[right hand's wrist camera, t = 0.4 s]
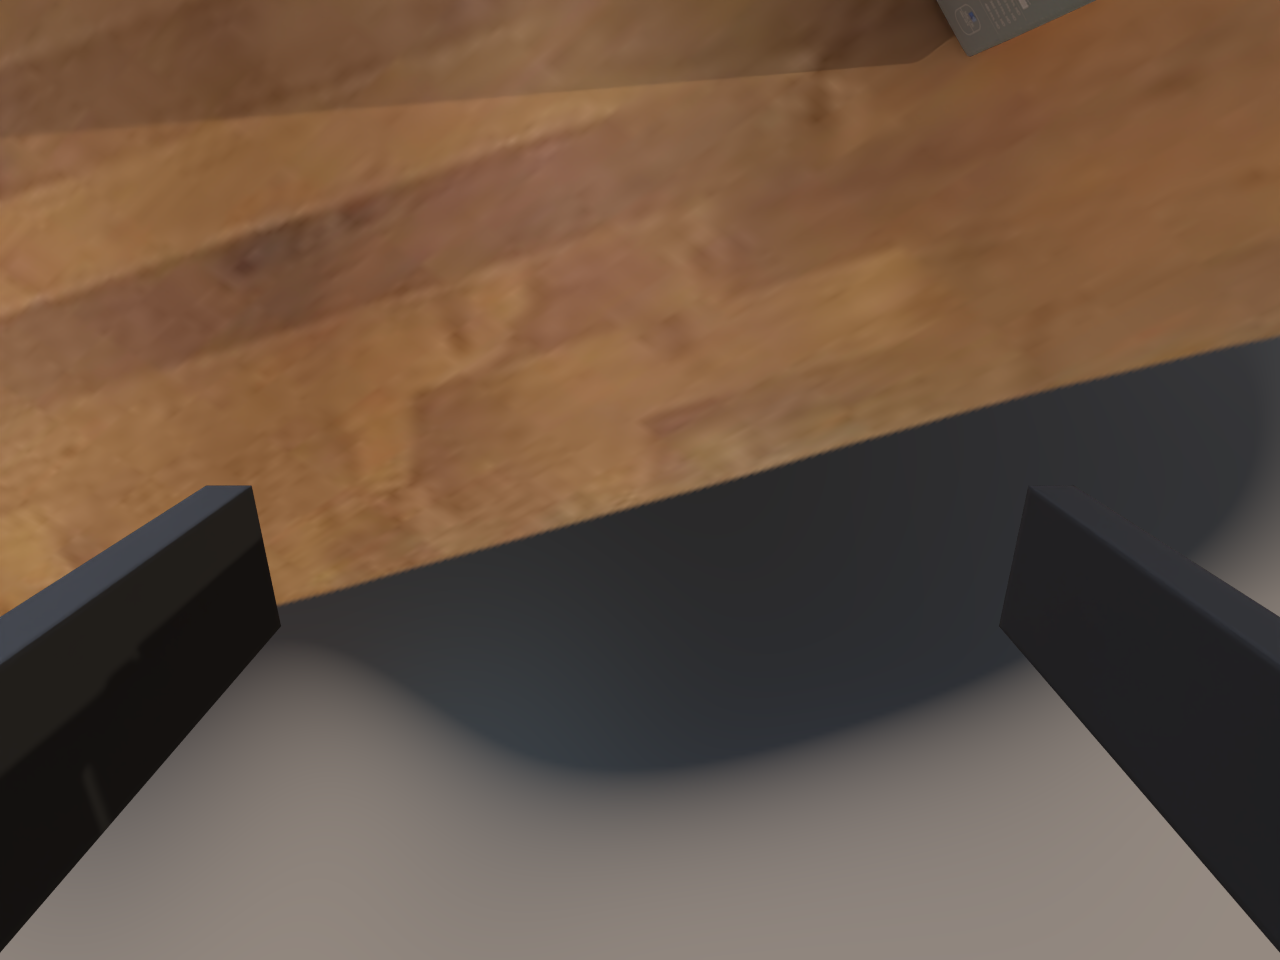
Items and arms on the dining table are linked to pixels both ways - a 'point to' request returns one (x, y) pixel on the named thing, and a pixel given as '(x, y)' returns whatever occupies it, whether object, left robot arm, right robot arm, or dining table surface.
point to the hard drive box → (1000, 19)
